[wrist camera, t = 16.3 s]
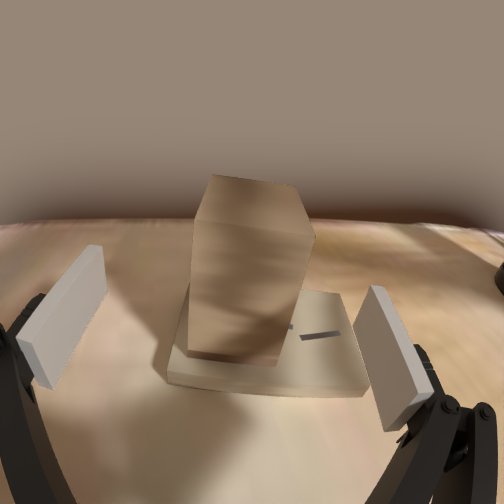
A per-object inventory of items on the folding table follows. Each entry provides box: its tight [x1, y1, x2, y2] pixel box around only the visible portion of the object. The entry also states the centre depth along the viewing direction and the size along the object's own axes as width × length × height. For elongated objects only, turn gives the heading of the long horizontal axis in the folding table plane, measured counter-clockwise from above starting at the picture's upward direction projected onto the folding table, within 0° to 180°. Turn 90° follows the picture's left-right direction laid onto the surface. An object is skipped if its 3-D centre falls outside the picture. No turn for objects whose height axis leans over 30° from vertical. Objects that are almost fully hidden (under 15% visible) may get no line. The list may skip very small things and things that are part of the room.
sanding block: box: [187, 175, 316, 367], centre depth 21 cm, size 6×8×10 cm
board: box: [167, 283, 370, 398], centre depth 24 cm, size 14×11×2 cm
